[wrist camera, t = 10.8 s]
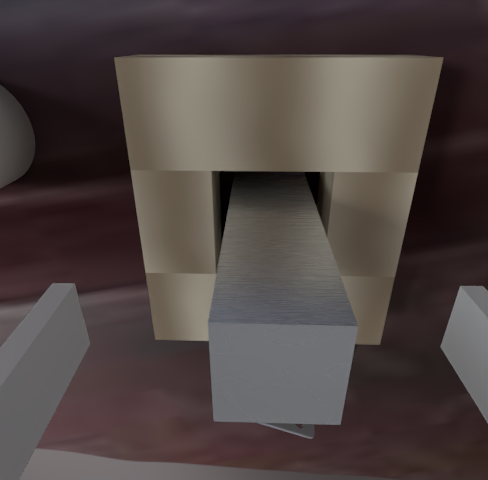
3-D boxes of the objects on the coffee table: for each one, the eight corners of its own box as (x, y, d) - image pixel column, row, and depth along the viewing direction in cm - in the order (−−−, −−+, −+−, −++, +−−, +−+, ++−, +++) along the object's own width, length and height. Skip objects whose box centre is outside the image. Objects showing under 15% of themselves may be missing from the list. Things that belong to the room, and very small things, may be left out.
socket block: (168, 301, 27) (155, 339, 24) (139, 54, 20) (114, 57, 16) (363, 304, 27) (379, 344, 23) (409, 54, 19) (443, 57, 16)
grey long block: (236, 228, 24) (213, 421, 12) (235, 167, 22) (207, 322, 10) (298, 228, 24) (340, 424, 12) (302, 168, 22) (358, 326, 10)
